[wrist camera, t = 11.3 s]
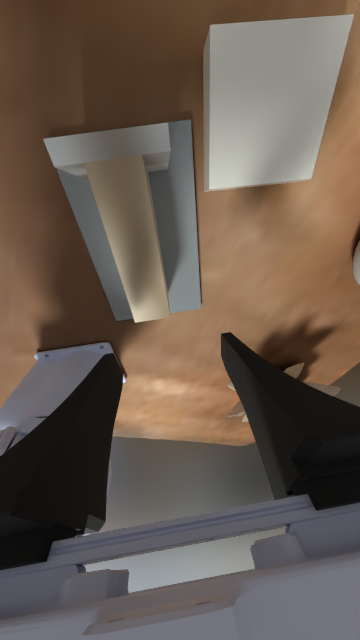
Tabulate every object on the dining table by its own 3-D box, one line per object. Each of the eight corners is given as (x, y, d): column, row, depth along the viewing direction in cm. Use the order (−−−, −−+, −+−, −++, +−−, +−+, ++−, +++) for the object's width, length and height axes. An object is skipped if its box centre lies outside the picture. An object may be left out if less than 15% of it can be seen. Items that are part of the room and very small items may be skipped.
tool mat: (117, 318, 20) (116, 321, 20) (48, 141, 12) (44, 138, 11) (200, 305, 20) (201, 308, 20) (189, 123, 12) (190, 119, 12)
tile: (209, 189, 13) (210, 24, 9) (203, 192, 15) (201, 55, 11) (311, 179, 13) (354, 14, 9) (292, 182, 15) (322, 45, 11)
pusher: (126, 299, 18) (117, 325, 14) (82, 162, 12) (42, 138, 8) (181, 290, 18) (188, 314, 14) (165, 151, 12) (167, 122, 8)
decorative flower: (221, 418, 33) (247, 482, 23) (211, 371, 29) (236, 424, 19) (295, 396, 33) (350, 450, 24) (294, 347, 29) (359, 388, 20)
